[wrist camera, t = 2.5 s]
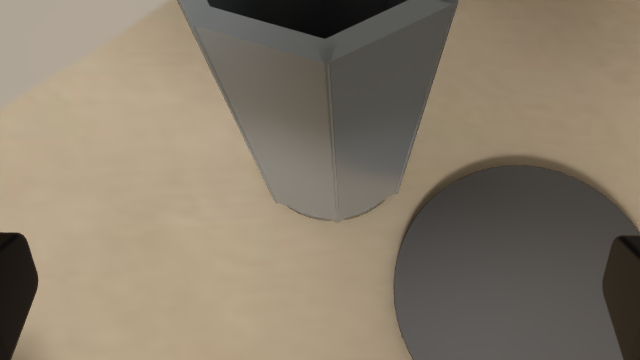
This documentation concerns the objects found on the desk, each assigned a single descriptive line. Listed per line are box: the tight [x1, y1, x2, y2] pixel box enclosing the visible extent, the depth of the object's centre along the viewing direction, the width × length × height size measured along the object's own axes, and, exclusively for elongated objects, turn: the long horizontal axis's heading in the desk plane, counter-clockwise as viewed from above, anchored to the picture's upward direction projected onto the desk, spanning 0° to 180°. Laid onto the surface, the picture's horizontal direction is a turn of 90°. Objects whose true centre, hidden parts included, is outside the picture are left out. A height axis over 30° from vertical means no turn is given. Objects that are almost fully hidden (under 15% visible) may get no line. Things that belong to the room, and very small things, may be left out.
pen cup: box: [177, 0, 458, 223], centre depth 17 cm, size 6×6×13 cm
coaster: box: [394, 166, 640, 360], centre depth 21 cm, size 9×9×1 cm
